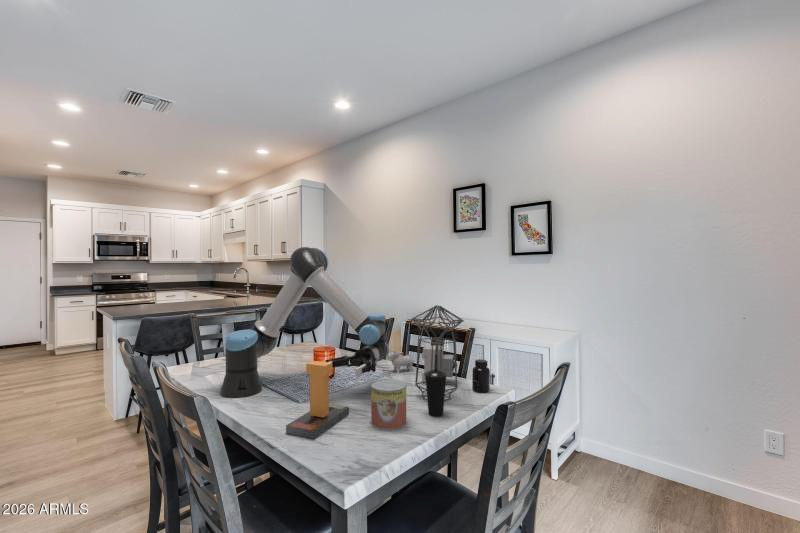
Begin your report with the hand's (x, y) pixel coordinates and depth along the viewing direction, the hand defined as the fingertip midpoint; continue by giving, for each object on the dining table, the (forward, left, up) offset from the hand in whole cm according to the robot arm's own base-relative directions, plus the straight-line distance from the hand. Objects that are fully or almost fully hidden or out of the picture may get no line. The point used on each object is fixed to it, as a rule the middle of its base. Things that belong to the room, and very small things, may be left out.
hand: (338, 371), depth 131 cm
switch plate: (-1, -11, -14) cm, 18 cm away
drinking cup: (+31, +10, -14) cm, 36 cm away
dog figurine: (+1, +54, -14) cm, 56 cm away
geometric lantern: (+27, +26, -14) cm, 40 cm away
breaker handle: (-1, -11, -11) cm, 15 cm away
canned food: (+19, -2, -14) cm, 24 cm away
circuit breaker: (+23, +44, -14) cm, 52 cm away
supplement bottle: (+41, +40, -14) cm, 59 cm away
